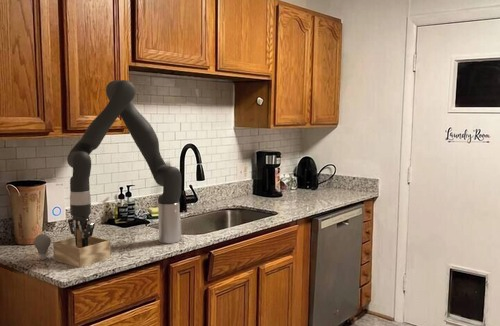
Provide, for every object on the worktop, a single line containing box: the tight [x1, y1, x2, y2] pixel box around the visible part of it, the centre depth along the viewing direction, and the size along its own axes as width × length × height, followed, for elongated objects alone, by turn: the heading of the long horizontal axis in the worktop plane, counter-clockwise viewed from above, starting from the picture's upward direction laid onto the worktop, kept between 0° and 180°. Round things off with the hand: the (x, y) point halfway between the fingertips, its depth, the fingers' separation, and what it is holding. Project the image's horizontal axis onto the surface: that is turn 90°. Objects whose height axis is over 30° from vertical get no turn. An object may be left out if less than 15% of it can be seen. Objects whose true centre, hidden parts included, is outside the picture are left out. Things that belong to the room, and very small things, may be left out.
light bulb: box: [33, 233, 52, 261], centre depth 184 cm, size 6×6×10 cm
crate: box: [52, 235, 112, 268], centre depth 185 cm, size 14×16×7 cm
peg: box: [76, 228, 86, 248], centre depth 185 cm, size 3×3×10 cm
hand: (81, 246), depth 185 cm, fingers closed on peg, 3 cm apart
